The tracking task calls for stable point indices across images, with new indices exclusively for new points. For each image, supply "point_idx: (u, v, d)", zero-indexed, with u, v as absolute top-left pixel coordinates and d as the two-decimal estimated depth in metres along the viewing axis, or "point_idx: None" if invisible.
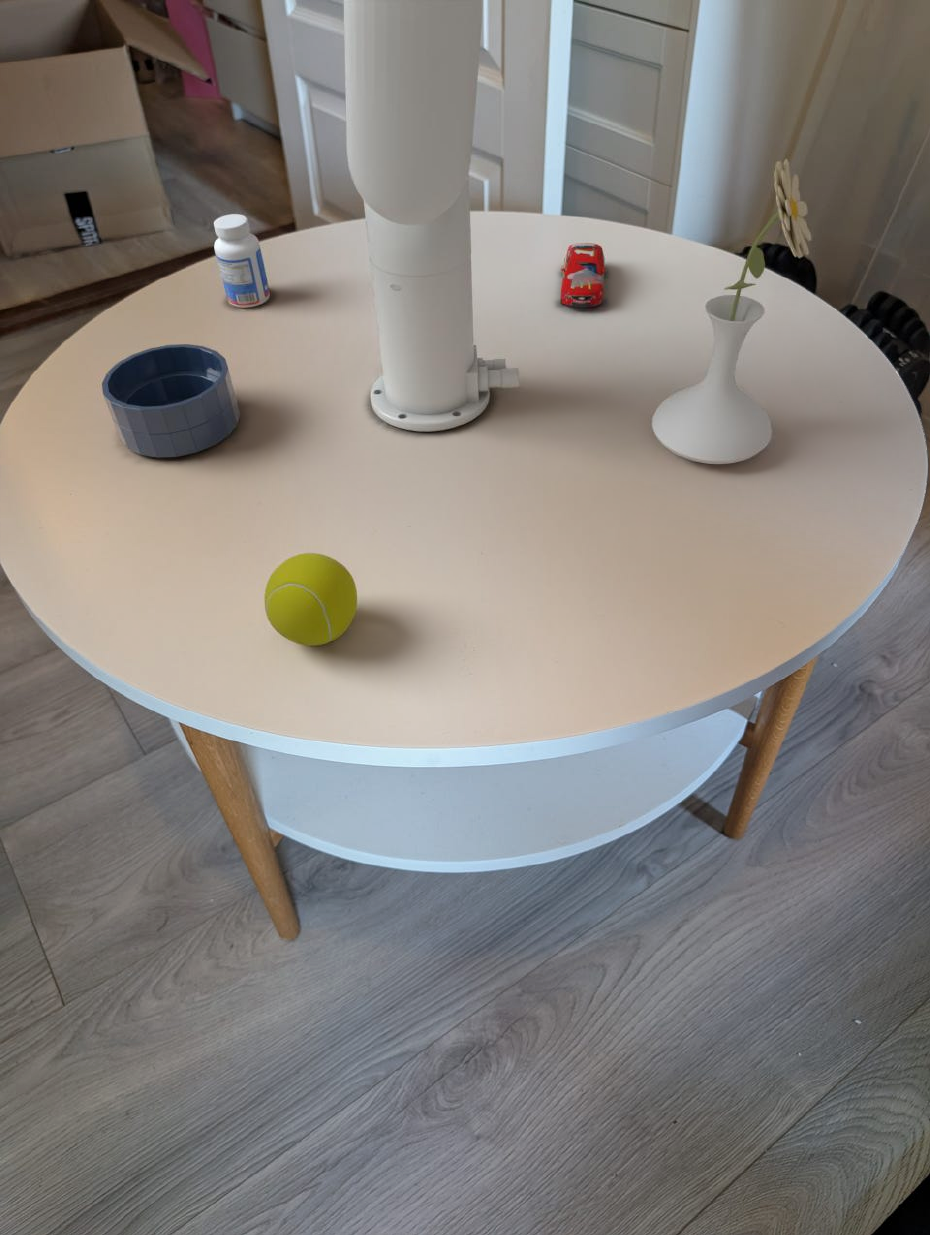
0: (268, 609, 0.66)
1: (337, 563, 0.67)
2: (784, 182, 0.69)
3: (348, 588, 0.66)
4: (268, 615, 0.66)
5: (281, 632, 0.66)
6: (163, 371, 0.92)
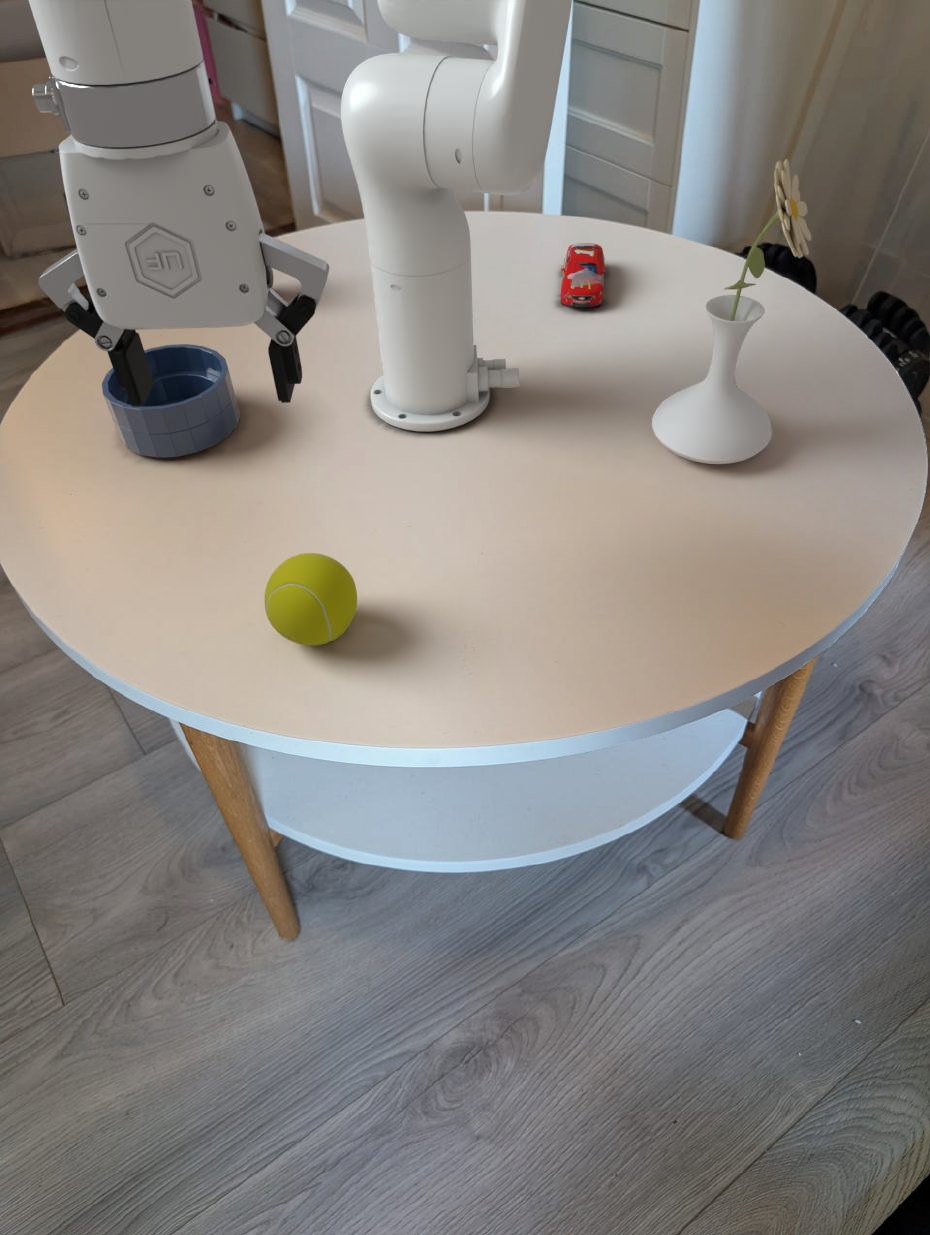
0: (268, 609, 0.66)
1: (337, 563, 0.67)
2: (784, 182, 0.69)
3: (348, 588, 0.66)
4: (268, 615, 0.66)
5: (281, 632, 0.66)
6: (163, 371, 0.92)
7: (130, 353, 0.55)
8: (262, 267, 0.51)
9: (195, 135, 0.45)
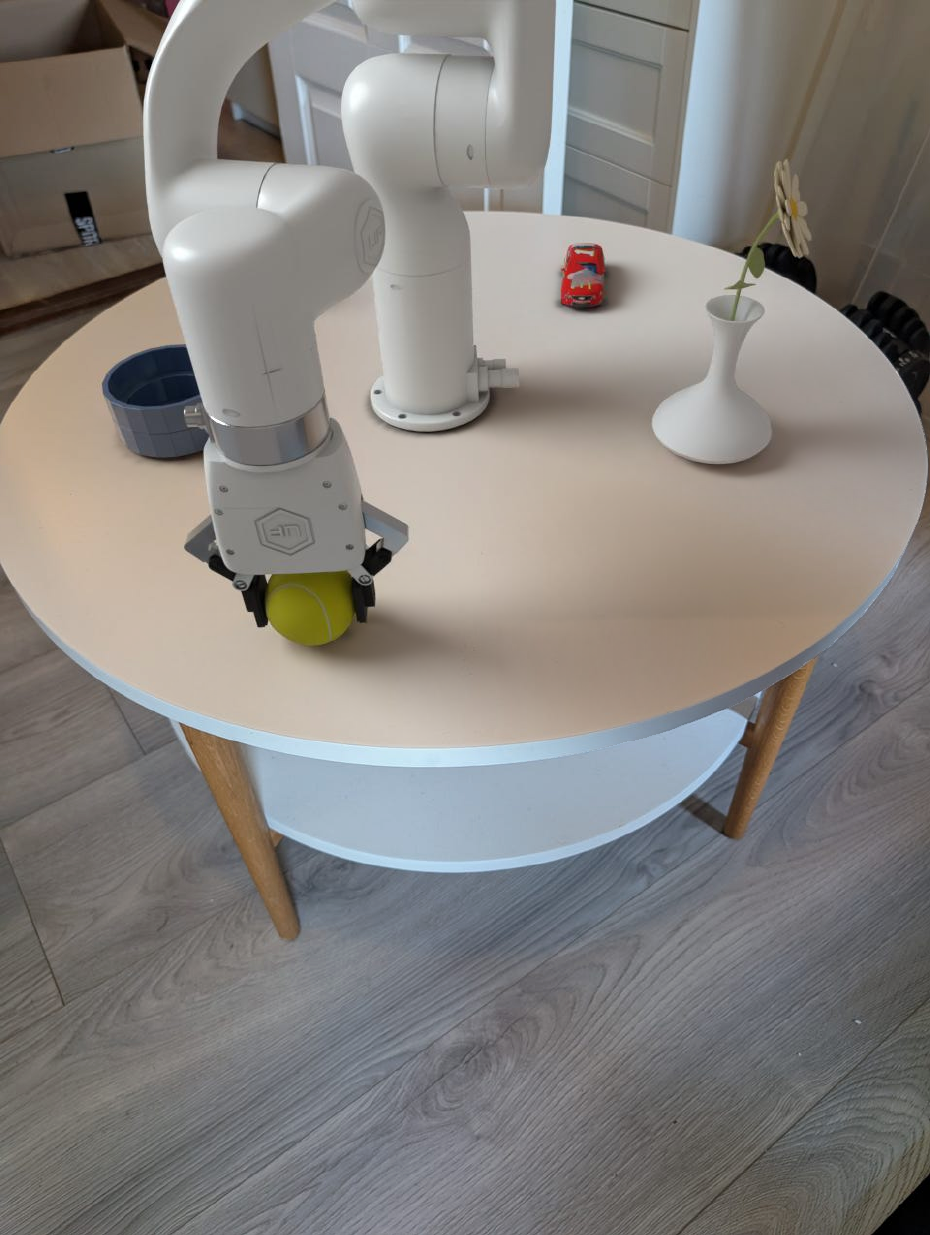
0: (268, 609, 0.66)
1: None
2: (784, 182, 0.69)
3: (348, 588, 0.66)
4: (268, 615, 0.66)
5: (281, 632, 0.66)
6: (163, 371, 0.92)
7: (259, 589, 0.66)
8: (363, 526, 0.61)
9: (318, 447, 0.55)
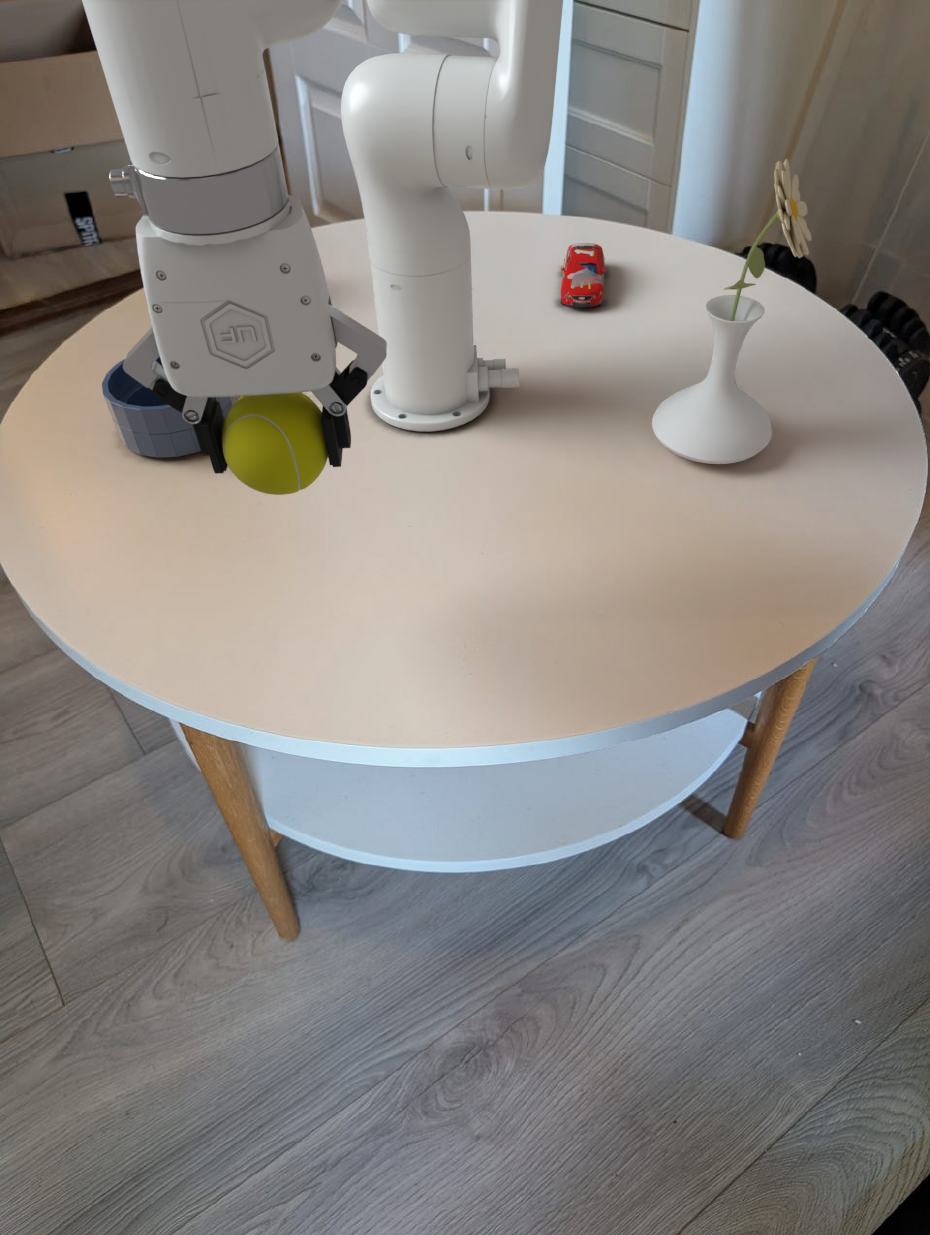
0: (225, 448, 0.56)
1: (305, 396, 0.58)
2: (784, 182, 0.69)
3: (318, 423, 0.57)
4: (226, 456, 0.57)
5: (241, 476, 0.57)
6: None
7: (214, 424, 0.56)
8: (332, 335, 0.51)
9: (273, 217, 0.46)
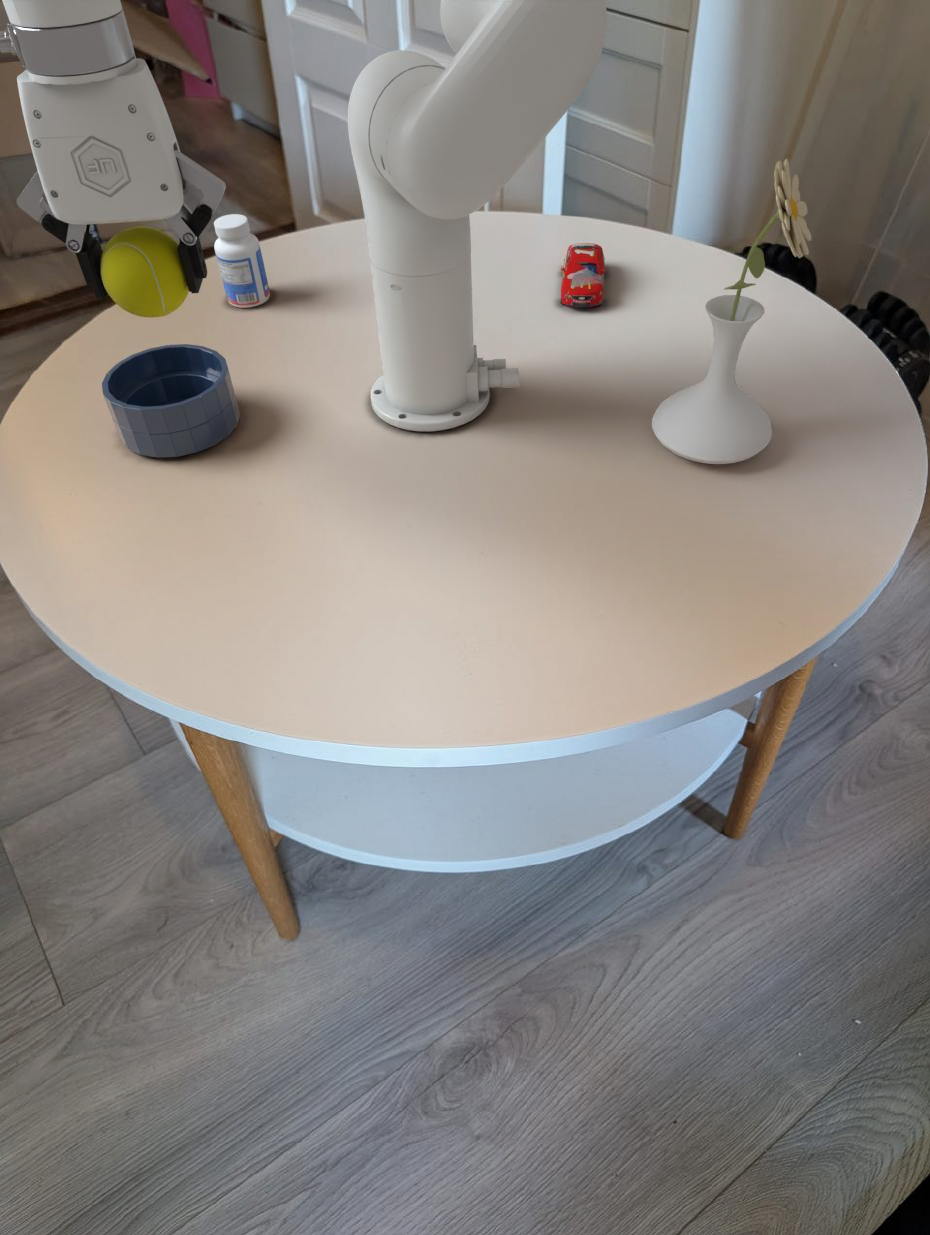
0: (102, 273, 0.71)
1: (168, 235, 0.72)
2: (784, 182, 0.69)
3: (177, 255, 0.72)
4: (103, 281, 0.72)
5: (116, 297, 0.72)
6: (163, 371, 0.92)
7: (93, 255, 0.71)
8: (177, 171, 0.67)
9: (119, 66, 0.61)
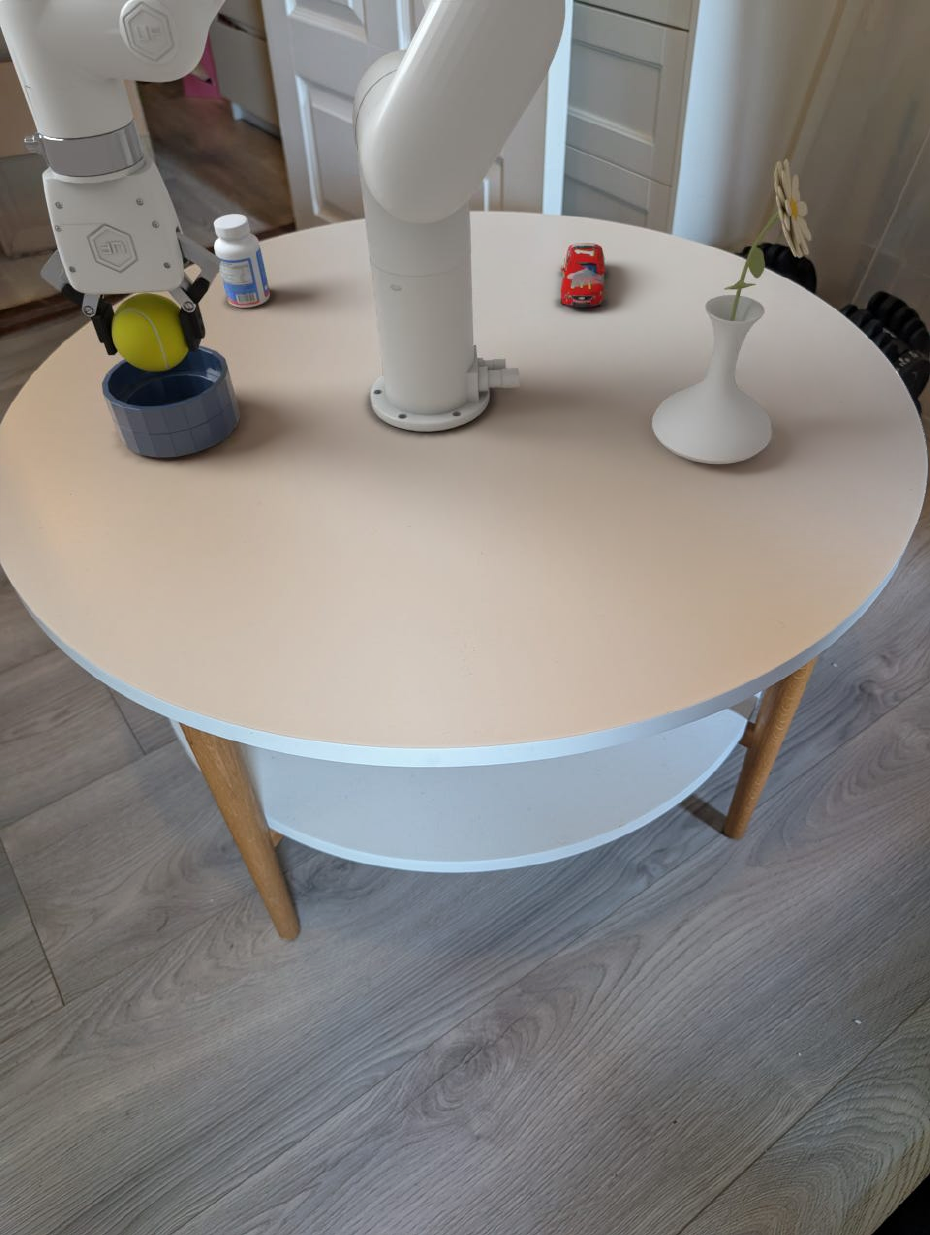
0: (113, 334, 0.81)
1: (171, 301, 0.83)
2: (784, 182, 0.69)
3: (178, 319, 0.82)
4: (114, 340, 0.82)
5: (124, 355, 0.82)
6: (163, 371, 0.92)
7: (106, 318, 0.81)
8: (179, 251, 0.77)
9: (129, 167, 0.71)
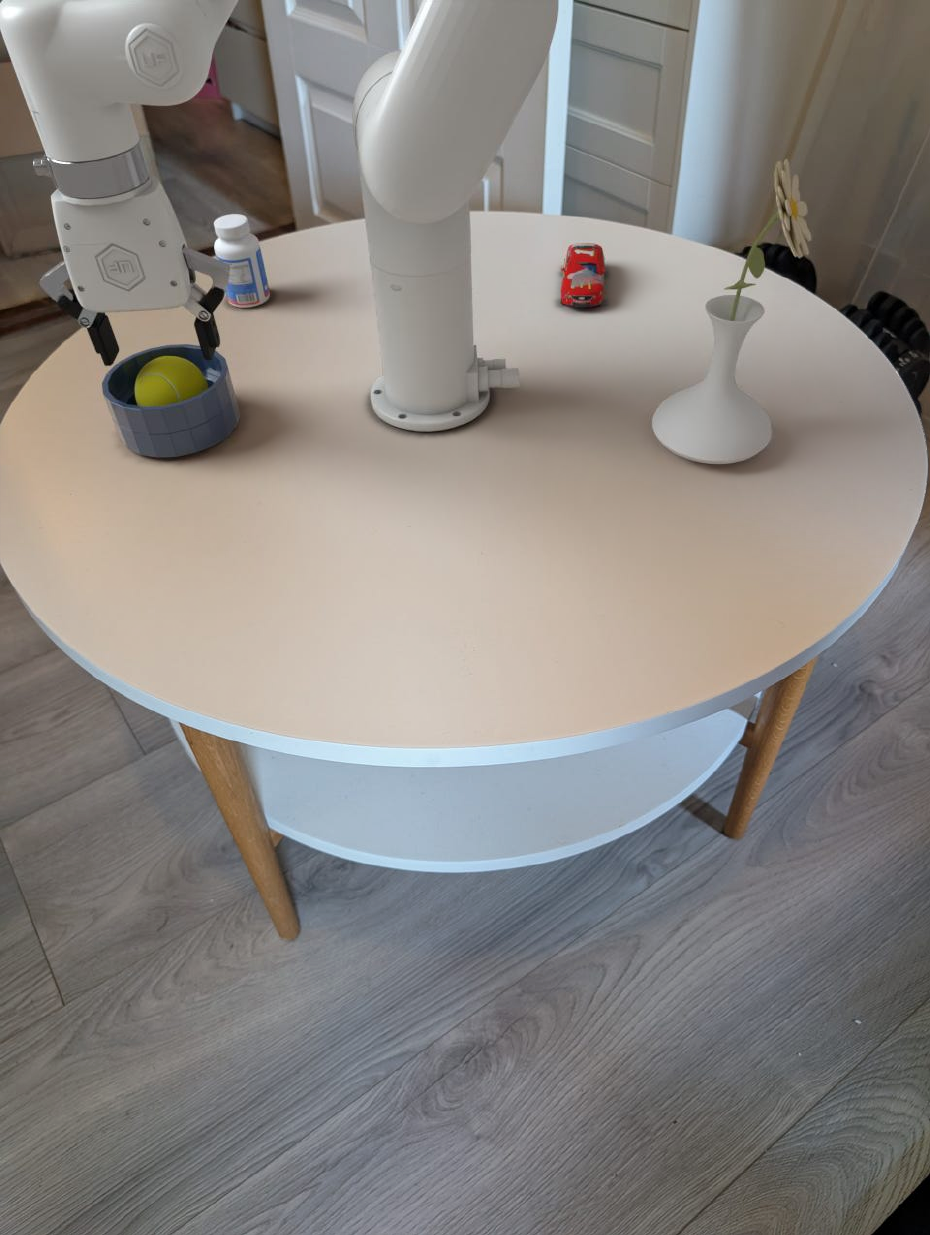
0: (136, 395, 0.86)
1: (191, 363, 0.87)
2: (784, 182, 0.69)
3: (198, 380, 0.87)
4: (137, 401, 0.87)
5: None
6: None
7: (102, 329, 0.82)
8: (185, 269, 0.78)
9: (136, 188, 0.72)
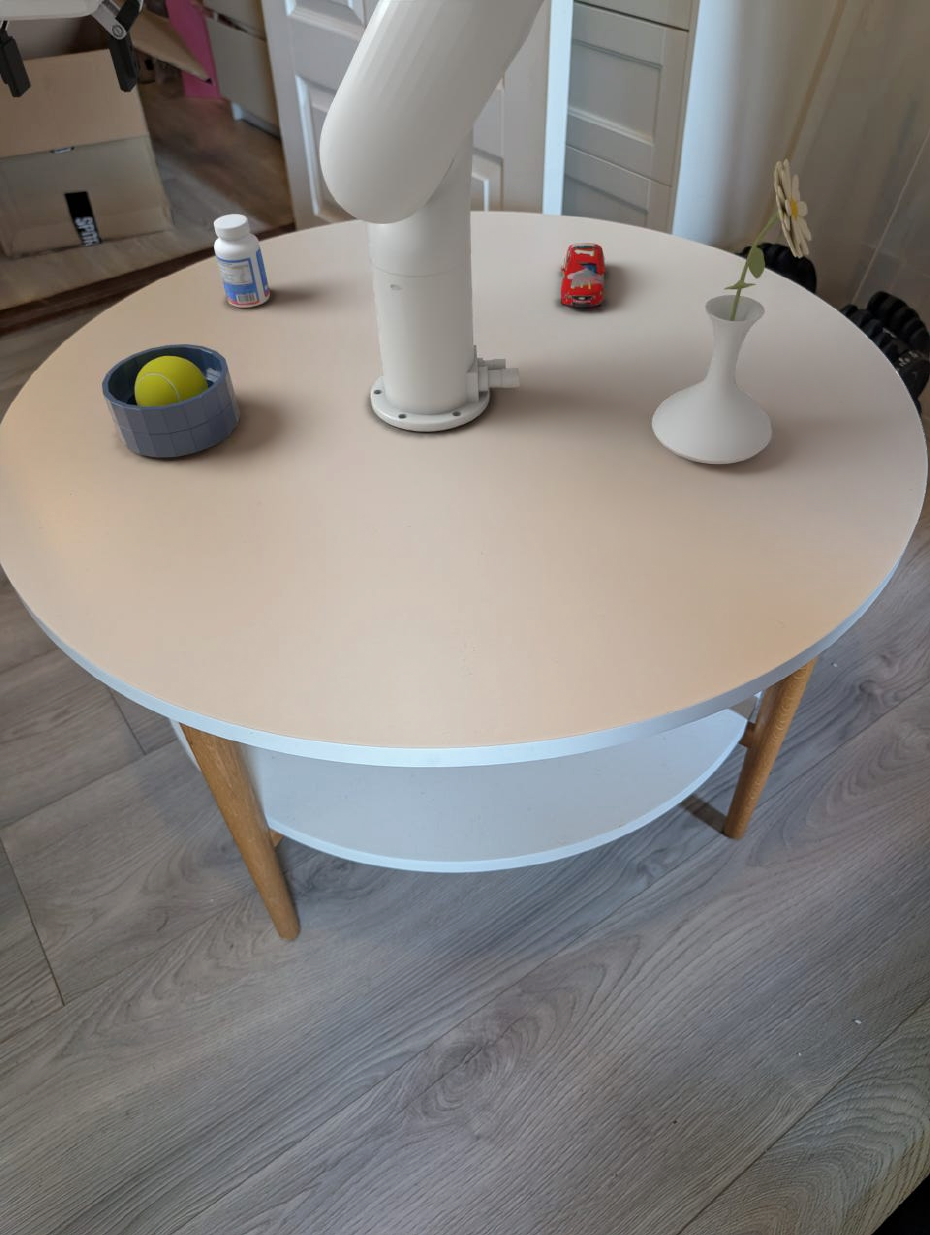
0: (136, 395, 0.86)
1: (191, 363, 0.87)
2: (784, 182, 0.69)
3: (198, 380, 0.87)
4: (137, 401, 0.87)
5: None
6: None
7: (7, 49, 0.75)
8: None
9: None
